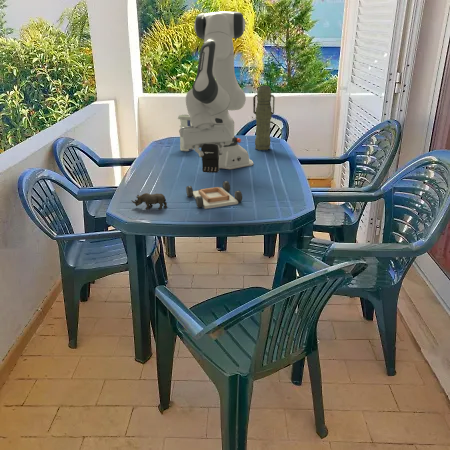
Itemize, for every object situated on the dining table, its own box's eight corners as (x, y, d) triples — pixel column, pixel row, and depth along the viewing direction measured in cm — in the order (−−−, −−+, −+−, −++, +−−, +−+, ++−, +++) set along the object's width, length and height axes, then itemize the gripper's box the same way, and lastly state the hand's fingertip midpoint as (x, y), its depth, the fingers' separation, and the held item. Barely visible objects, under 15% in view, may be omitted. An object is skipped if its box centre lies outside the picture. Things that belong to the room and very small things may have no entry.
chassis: (225, 189, 190) (225, 179, 189) (242, 203, 175) (242, 192, 173) (186, 194, 184) (185, 184, 183) (199, 209, 169) (199, 198, 167)
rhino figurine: (133, 205, 174) (132, 191, 171) (168, 206, 173) (167, 191, 170) (130, 209, 170) (129, 194, 168) (165, 210, 169) (165, 195, 167)
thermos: (252, 146, 260) (253, 85, 246) (272, 147, 259) (275, 85, 244) (251, 150, 252) (253, 87, 238) (272, 150, 251) (275, 87, 236)
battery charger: (200, 173, 174) (200, 144, 169) (202, 170, 178) (202, 142, 173) (218, 174, 173) (217, 145, 168) (219, 171, 177) (219, 143, 172)
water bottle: (187, 146, 260) (185, 103, 250) (196, 149, 255) (195, 105, 245) (176, 149, 255) (174, 105, 245) (186, 151, 250) (184, 107, 239)
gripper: (179, 122, 170) (187, 153, 166) (228, 119, 177) (237, 148, 172) (176, 132, 176) (184, 162, 171) (224, 128, 182) (233, 156, 178)
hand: (211, 155), depth 172 cm, fingers closed on battery charger, 7 cm apart
